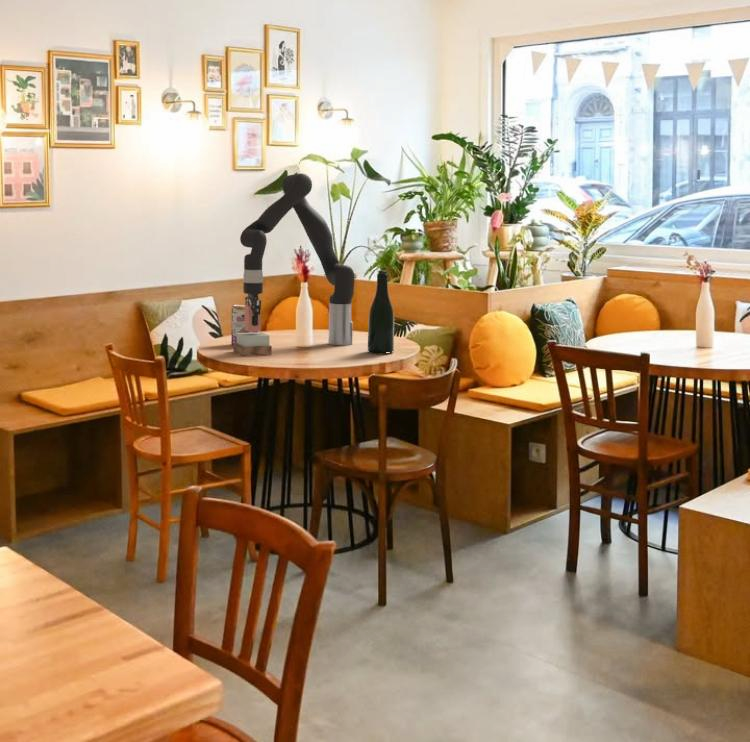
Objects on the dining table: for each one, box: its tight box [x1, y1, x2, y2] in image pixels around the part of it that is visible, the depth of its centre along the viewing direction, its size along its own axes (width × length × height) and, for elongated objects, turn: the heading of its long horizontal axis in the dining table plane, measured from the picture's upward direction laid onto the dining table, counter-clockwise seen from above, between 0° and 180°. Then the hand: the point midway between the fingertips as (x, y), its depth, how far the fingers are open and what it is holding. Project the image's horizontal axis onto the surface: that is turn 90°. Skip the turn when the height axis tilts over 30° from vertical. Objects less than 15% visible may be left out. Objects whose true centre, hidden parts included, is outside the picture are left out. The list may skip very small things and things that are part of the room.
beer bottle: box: [367, 269, 395, 354], centre depth 429 cm, size 10×10×33 cm
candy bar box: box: [230, 304, 261, 346], centre depth 441 cm, size 11×5×16 cm, turn 84°
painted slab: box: [237, 331, 270, 347], centre depth 422 cm, size 10×10×4 cm
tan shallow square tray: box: [232, 343, 273, 357], centre depth 422 cm, size 12×12×4 cm
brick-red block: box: [244, 304, 262, 332], centre depth 420 cm, size 5×5×10 cm
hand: (252, 324), depth 421 cm, fingers closed on brick-red block, 5 cm apart
